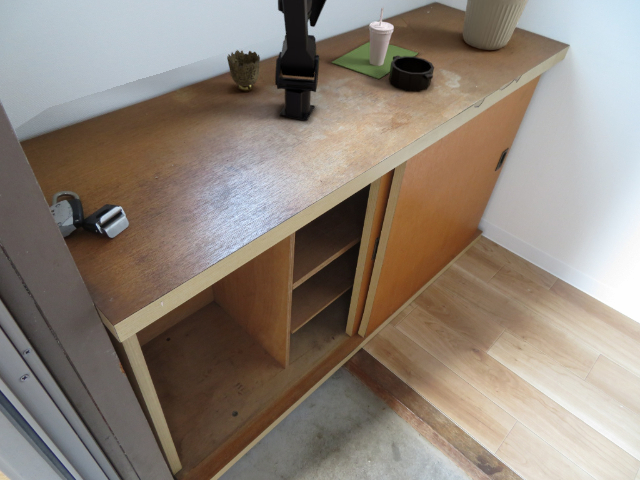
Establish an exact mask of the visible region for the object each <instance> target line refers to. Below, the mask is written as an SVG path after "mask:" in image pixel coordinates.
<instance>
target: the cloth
mask: <svg viewBox="0 0 640 480" xmlns="http://www.w3.org/2000/svg"><path fill="white" fill-rule="evenodd" d="M398 55H399V56H400V57H402V56H413V57H417V56H418V55H419V52H416V51H413V50H410V49H406V48H404V47H400V46H397V45H394V44H391V43H389V44H388V48H387V52H386V55H385V59H384V63H383V65H381V66H375V65H372V64H370V41H367V42H365V43H364V44H362V45H360V46H359V47H356V48H355V49H353V50H351V51H349V52H347V53H346V54H343V55H342V56H340V57H338V58H336V59H335V60H334V59H333V61H331V64H333V65H336V66H338V67H342V68H345V69H347V70H349V71H354V72H356V73H359V74H362V75H365V76H368V77H371V78H374V79H377V80H381V79H383V78H385V76H387V75H389V73H390V67H391V62H392V61H393V56H398Z"/></svg>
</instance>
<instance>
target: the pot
mask: <svg viewBox="0 0 640 480" xmlns="http://www.w3.org/2000/svg"><path fill="white" fill-rule="evenodd" d="M434 70H435V66H434V65H433V63H432V62H430V61H429V60H427V59H425V58H422V57H417V56H414V57H413V56H402V57H400V56H399V55H398V56H393V61H392V62H391V67H390V73H388V81H389V84H390V85H391V86H392V87H394V88H396V89H397V90H401V91H405V92H422V91H426V90H428V88H429V87H430V86H431V83H432V80H433V78H434Z"/></svg>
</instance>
